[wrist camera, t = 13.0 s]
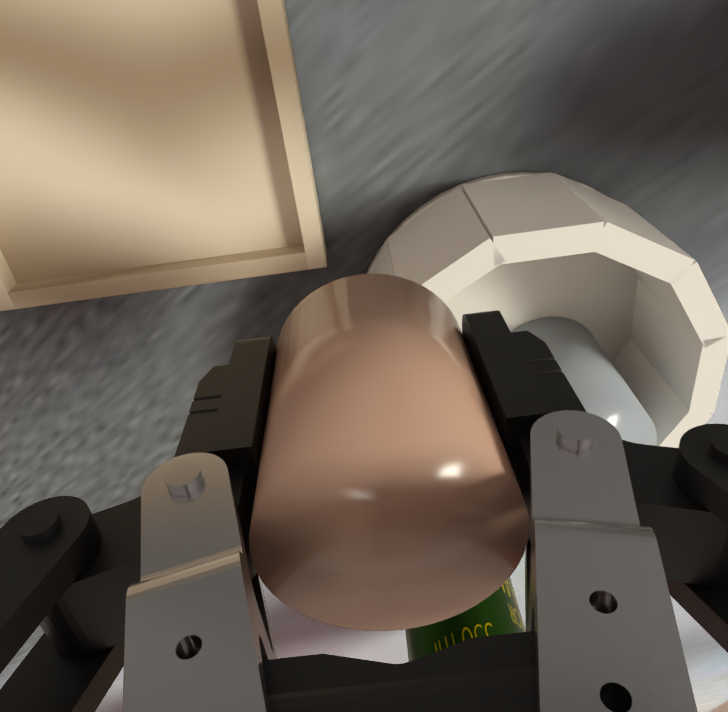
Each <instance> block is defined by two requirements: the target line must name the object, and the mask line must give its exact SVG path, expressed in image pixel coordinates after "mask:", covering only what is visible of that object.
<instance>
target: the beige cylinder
mask: <svg viewBox="0 0 728 712" xmlns="http://www.w3.org/2000/svg"><path fill="white" fill-rule="evenodd" d="M528 535H529V515H528V511H527V507H526V503H525V501H524V498H523V495H522V493H521V490H520V487H519V485H518V482H517V479H516V477H515V474H514V471H513V469H512V466H511V463H510V461H509V458H508V455H507V453H506V450H505V447H504V444H503V442H502V439H501V436H500V434H499V431H498V428H497V426H496V423H495V420H494V418H493V415H492V412H491V410H490V407H489V404H488V402H487V399H486V396H485V394H484V391H483V388H482V386H481V383H480V380H479V378H478V375H477V372H476V369H475V367H474V364H473V361H472V359H471V356H470V353H469V351H468V348H467V345H466V343H465V340H464V337H463V335H462V332H461V329H460V327H459V325H458V322H457V320H456V318H455V316H454V315H453V313H452V312H451V310H450V309H449V308H448V306H447V305H446V304H445V303H444V302H443V301H442V300H441V299H440V298H439V297H438V296H437V295H435V294H434V293H433V292H432V291H430V290H428V289H427V288H425V287H424V286H422V285H420V284H418V283H416V282H413V281H411V280H408V279H405V278H402V277H398V276H393V275H387V274H359V275H354V276H348V277H344V278H341V279H338V280H335V281H332V282H330V283H328V284H326V285H324V286H322V287H320V288H318V289H317V290H315V291H313V292H312V293H310V294H309V295H308V296H307V297H306V298H304V299H303V300H302V301H301V302H300V303H299V304H298V305H297V306H296V307H295V308H294V309H293V311H292V312H291V314H290V315H289V316H288V318H287V319H286V321H285V323H284V325H283V327H282V329H281V332H280V335H279V338H278V343H277V349H276V356H275V363H274V370H273V376H272V383H271V390H270V397H269V404H268V410H267V417H266V424H265V431H264V438H263V444H262V451H261V458H260V465H259V472H258V478H257V485H256V491H255V498H254V505H253V512H252V519H251V525H250V532H249V550H250V554H251V559H252V562H253V565H254V567H255V569H256V572H257V574H258V575H259V577H260V578H261V580H262V582H263V583H264V584H265V586H266V587H267V588H268V589H269V590H270V591H271V592H272V594H274V595H275V596H276V597H277V598H278V599H279V600H281V601H282V602H283V603H284V604H286V605H287V606H289V607H290V608H292V609H294V610H295V611H297V612H299V613H301V614H303V615H305V616H307V617H309V618H312V619H314V620H317V621H320V622H322V623H326V624H330V625H333V626H337V627H343V628H348V629H355V630H366V631H391V630H403V629H409V628H416V627H421V626H425V625H429V624H433V623H436V622H439V621H442V620H445V619H448V618H451V617H453V616H456V615H458V614H460V613H463V612H464V611H466V610H468V609H470V608H472V607H474V606H476V605H477V604H479V603H480V602H482V601H483V600H485V599H486V598H488V597H489V596H490V595H491V594H493V593H494V592H495V591H496V590H497V589H499V588H500V587H501V586H502V585H503V584H504V582H505V581H506V580H507V579H508V578H509V577H510V576H511V574H512V573H513V572H514V570H515V569H516V567H517V566H518V564H519V562H520V560H521V558H522V556H523V554H524V551H525V548H526V545H527V542H528Z"/></svg>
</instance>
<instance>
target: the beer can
mask: <svg viewBox="0 0 728 712" xmlns="http://www.w3.org/2000/svg"><path fill="white" fill-rule="evenodd" d="M405 630H406V639H407V648H408V657H409V662H410V661H413V660H415V659H418V658H421V657H423V656H426V655H429V654H431V653H434V652H437V651H439V650H442V649H445V648H447V647H450V646H453V645H455V644H458V643H461V642H463V641H466V640H469V639H471V638H474V637H483V636H492V635H501V634H510V633H520V632H526V631H525V628H524V624H523V621H522V617H521V614H520V610H519V607H518V603H517V600H516V597H515V593H514V590H513V586H512V583H511V579H510V577H509V578H508V579H507V580H506V581H505V582H504V584H503V585H502V586H501V587H500V588H499V589H497V590H496V591H495V592H494V593H493V594H491V595H490V596H489V597H488V598H486V599H485V600H483V601H482V602H480V603H479V604H477V605H476V606H474V607H472V608H470V609H468V610H466V611H464V612H463V613H460V614H458V615H456V616H453V617H451V618H448V619H445V620H442V621H439V622H436V623H433V624H429V625H425V626H421V627H416V628H409V629H405Z"/></svg>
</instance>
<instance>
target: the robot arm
mask: <svg viewBox="0 0 728 712" xmlns="http://www.w3.org/2000/svg"><path fill="white" fill-rule="evenodd" d="M462 335H463V337H464V340H465V343H466V345H467V348H468V351H469V353H470V356H471V359H472V361H473V364H474V367H475V369H476V372H477V375H478V378H479V380H480V383H481V386H482V388H483V391H484V394H485V396H486V399H487V402H488V404H489V407H490V410H491V412H492V415H493V418H494V420H495V423H496V426H497V428H498V431H499V434H500V436H501V439H502V442H503V444H504V447H505V450H506V453H507V455H508V458H509V461H510V463H511V466H512V469H513V471H514V474H515V477H516V479H517V482H518V485H519V487H520V490H521V493H522V495H523V498H524V501H525V503H526V507H527V511H528V515H529V535H528V542H527V545H526V548H525V610H526V632H520V633H510V634H501V635H492V636H483V637H474V638H471V639H469V640H466V641H463V642H461V643H458V644H455V645H453V646H450V647H447V648H445V649H442V650H439V651H437V652H434V653H431V654H429V655H426V656H423V657H421V658H418V659H415V660H413V661H410V662H407V663H404V664H389V663H382V662H375V661H368V660H362V659H355V658H348V657H341V656H334V655H327V654H317V655H308V656H298V657H289V658H280V659H277V656H276V651H275V646H274V641H273V636H272V631H271V626H270V621H269V617H268V612H267V607H266V602H265V597H264V592H263V587H262V582H261V578H260V577H259V575H258V574H257V572H256V569H255V567H254V565H253V562H252V559H251V554H250V550H249V532H250V525H251V519H252V512H253V505H254V498H255V491H256V485H257V478H258V472H259V465H260V458H261V451H262V444H263V438H264V431H265V424H266V417H267V410H268V404H269V397H270V390H271V383H272V376H273V370H274V363H275V356H276V346H275V342H274V340H273V338H272V337H263V338H254V339H246V340H237V341H236V343H235V346H234V350H233V354H232V357H231V361H230V365H224V366H216V367H213V368H212V369H211V370H210V371H209V372H208V373H207V374H206V375H205V376H204V377H203V379H202V380H201V381H200V382H199V384H198V387H197V390H196V393H195V396H194V401H193V402H192V405H191V408H190V411H189V412H190V415H188V418H187V421H186V424H185V427H184V430H183V433H182V436H181V439H180V442H179V445H178V448H177V451H176V454H175V457H174V458H173V459H171V460H168V461H167V462H165V463H163V464H162V465H160V466H159V467H157V468H156V469H155V470H154V471H153V472H152V473H151V474H150V475H149V476H148V477H147V479H146V480H145V482H144V484H143V487H142V491H141V496H140V497H138V498H136V499H134V500H131V501H129V502H126V503H123V504H120V505H117V506H115V507H112V508H109V509H106V510H103V511H100V512H97V513H94V514H91V512H90V510H89V507H88V506H87V504H86V503H85V502H84V501H83V500H81V499H79V498H76V497H72V496H58V497H53V498H49V499H45V500H42V501H40V502H37V503H35V504H33V505H31V506H29V507H27V508H25V509H23V510H22V511H20V512H19V513H17V514H16V515H15V516H13V517H12V518H11V519H10V520H9V521H8V522H7V523H6V524H5V525H4V526H3V527H2V528H1V529H0V673H1V672H2V671H3V670H4V668H5V667H6V666H7V665H8V663H9V662H10V661H11V660H12V658H13V657H14V656H15V654H16V653H17V652H18V651H19V649H20V648H21V647H22V646H23V644H24V643H25V642H26V641H27V639H28V638H29V637H30V636H31V634H32V633H33V632H34V631H35V629H36V628H37V627H38V626H39V625H40V626H41V628H42V629H43V631H44V632H45V633H44V634H43V635H42V637H41V638H40V639H39V641H38V642H37V643H36V644H35V646H34V647H33V648H32V650H31V651H30V652H29V653H28V655H27V656H26V657H25V659H24V660H23V661H22V662H21V664H20V665H19V666H18V668H17V669H16V670H15V671H14V673H13V674H12V675H11V677H10V678H9V679H8V680H7V682H6V683H5V684H4V685H3V687H2V688H1V689H0V712H95V711H96V709H97V707H98V706H99V704H100V703H101V701H102V699H103V698H104V696H105V695H106V693H107V692H108V690H109V688H110V687H111V685H112V684H113V682H114V680H115V679H116V677H117V676H118V674H119V673H120V671H121V669H122V668H123V666H124V680H123V712H697V708H696V704H695V700H694V695H693V691H692V687H691V683H690V678H689V674H688V670H687V666H686V661H685V657H684V653H683V649H682V644H681V640H680V636H679V632H678V627H677V623H676V619H675V615H674V611H673V606H672V602H671V598H670V595H671V596H672V597H673V598H674V599H675V600H676V601H677V602H678V603H679V604H680V605H681V606H682V607H683V608H684V609H685V610H686V611H687V612H688V613H689V614H690V615H691V616H692V617H693V618H694V619H695V620H696V621H697V622H698V623H699V624H700V625H701V626H702V627H703V628H704V629H705V630H706V631H707V632H708V633H709V634H710V635H711V636H712V637H713V638H714V639H715V640H716V641H717V642H718V643H719V644H720V645H721V646H722V647H723V648H724V649H725V650H726V651H727V652H728V425H726V424H705V425H700V426H696V427H693V428H691V429H689V430H688V431H687V432H685V433H684V434H683V436H682V437H681V439H680V442H679V447H678V448H673V447H663V446H654V445H644V444H638V443H633V442H629V441H625V440H622V438H621V436H620V433H619V432H618V430H617V429H616V428H615V427H614V426H613V425H612V424H611V423H610V422H608V421H607V420H605V419H603V418H601V417H599V416H597V415H594V414H591V413H588V412H586V410H585V408H584V407H583V405H582V403H581V401H580V400H579V398H578V396H577V395H576V393H575V391H574V390H573V388H572V386H571V385H570V383H569V381H568V380H567V378H566V376H565V375H564V373H563V372H561V368H560V366H559V364H558V363H557V361H556V360H554V356H553V354H552V353H551V351H550V349H549V348H548V346H547V344H546V343H545V342H544V341H543V340H541V339H540V338H538V337H537V336H535V335H534V334H532V333H530V332H529V331H519V332H510V330H509V328H508V326H507V324H506V322H505V320H504V318H503V316H502V314H501V312H500V311H499V310H496V311H487V312H479V313H470V314H463V316H462Z"/></svg>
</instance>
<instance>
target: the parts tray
mask: <svg viewBox="0 0 728 712" xmlns="http://www.w3.org/2000/svg"><path fill="white" fill-rule="evenodd" d="M324 267H327V249H326V244H325V238H324V232H323V226H322V220H321V214H320V208H319V202H318V197H317V191H316V185H315V179H314V173H313V167H312V161H311V156H310V150H309V144H308V138H307V132H306V126H305V120H304V114H303V109H302V103H301V97H300V91H299V85H298V79H297V73H296V68H295V62H294V56H293V50H292V44H291V38H290V32H289V26H288V21H287V15H286V9H285V3H284V0H0V311H5V310H13V309H20V308H27V307H35V306H42V305H50V304H57V303H65V302H72V301H79V300H87V299H94V298H102V297H109V296H116V295H124V294H131V293H139V292H146V291H153V290H161V289H168V288H176V287H183V286H190V285H198V284H205V283H213V282H220V281H227V280H235V279H242V278H250V277H257V276H264V275H272V274H279V273H287V272H294V271H301V270H309V269H316V268H324Z"/></svg>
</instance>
